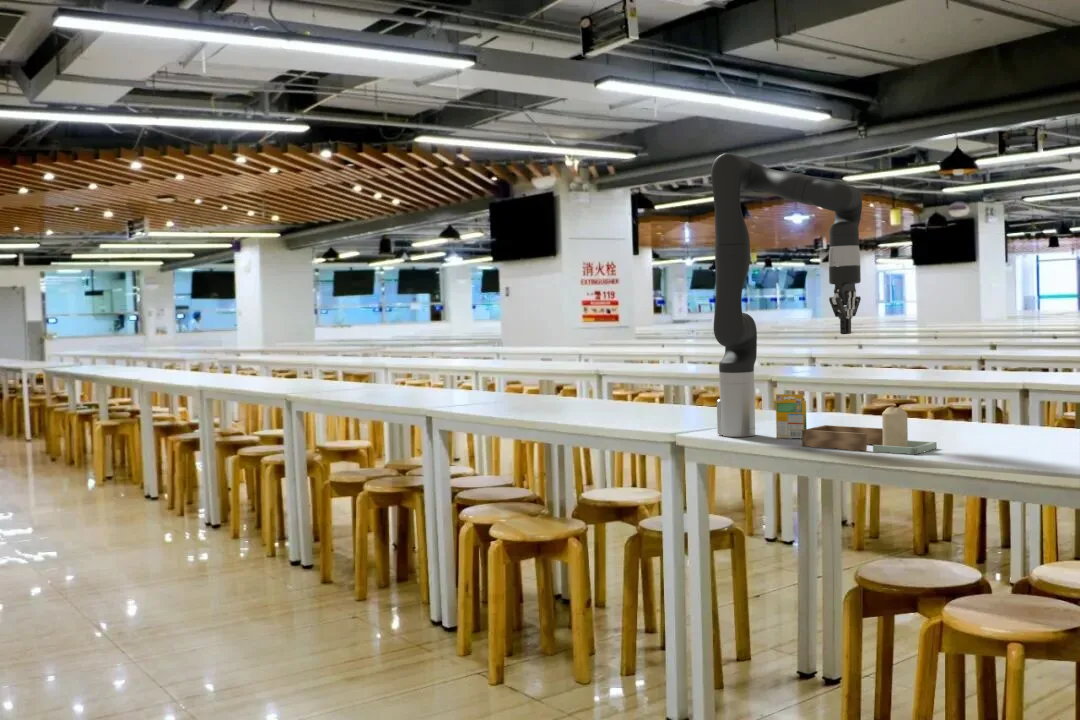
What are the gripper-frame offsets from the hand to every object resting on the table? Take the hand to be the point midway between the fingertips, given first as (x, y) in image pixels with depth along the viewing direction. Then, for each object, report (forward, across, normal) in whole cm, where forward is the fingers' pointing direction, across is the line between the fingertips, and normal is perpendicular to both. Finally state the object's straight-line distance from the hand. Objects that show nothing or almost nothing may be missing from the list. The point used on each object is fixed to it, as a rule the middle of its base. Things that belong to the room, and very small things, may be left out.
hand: (845, 334), depth 241 cm
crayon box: (+27, +1, -15) cm, 31 cm away
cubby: (+27, +8, +3) cm, 28 cm away
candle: (+27, +8, +16) cm, 32 cm away
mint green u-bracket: (+27, +8, +18) cm, 33 cm away
